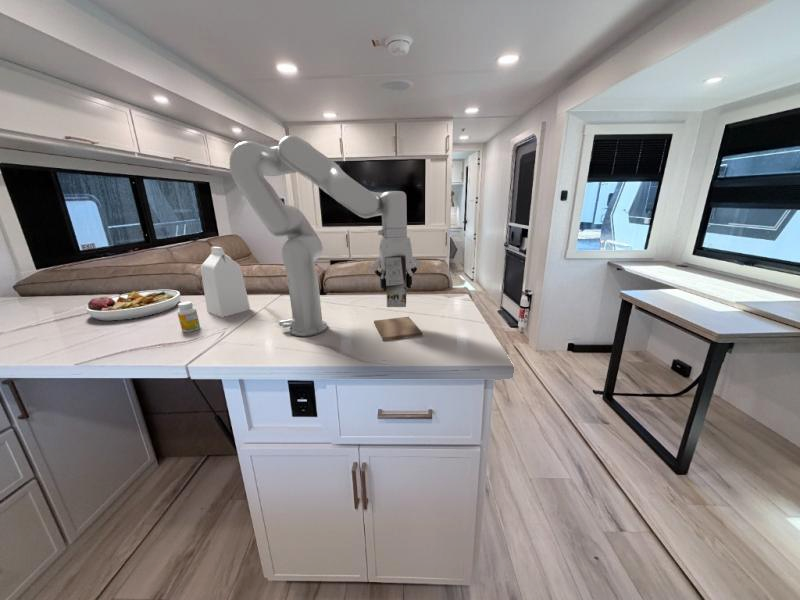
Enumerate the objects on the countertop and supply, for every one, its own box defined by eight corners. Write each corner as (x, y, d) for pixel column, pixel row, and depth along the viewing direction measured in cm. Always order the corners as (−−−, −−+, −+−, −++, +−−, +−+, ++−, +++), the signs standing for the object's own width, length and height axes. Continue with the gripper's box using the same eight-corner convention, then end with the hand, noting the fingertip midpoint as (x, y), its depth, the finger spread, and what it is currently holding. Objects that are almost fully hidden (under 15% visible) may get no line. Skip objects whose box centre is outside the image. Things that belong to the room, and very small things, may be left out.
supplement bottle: (180, 329, 107) (173, 303, 104) (197, 325, 111) (191, 299, 108) (184, 333, 103) (177, 306, 100) (202, 328, 107) (196, 302, 104)
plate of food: (177, 295, 149) (173, 280, 146) (187, 310, 127) (182, 292, 125) (92, 310, 130) (86, 292, 128) (87, 330, 108) (80, 309, 106)
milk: (207, 311, 124) (193, 248, 116) (235, 304, 133) (223, 244, 125) (222, 317, 118) (208, 250, 110) (250, 309, 127) (239, 246, 119)
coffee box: (406, 307, 96) (405, 256, 91) (386, 307, 97) (384, 257, 92) (406, 298, 105) (405, 252, 100) (388, 299, 105) (386, 252, 100)
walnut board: (383, 341, 95) (382, 337, 95) (374, 323, 109) (373, 320, 109) (422, 335, 98) (422, 332, 98) (408, 319, 112) (408, 316, 112)
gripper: (369, 236, 88) (372, 294, 94) (425, 233, 93) (425, 289, 98) (364, 233, 95) (368, 288, 101) (417, 231, 100) (418, 283, 105)
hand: (396, 288), depth 99 cm, fingers closed on coffee box, 7 cm apart
